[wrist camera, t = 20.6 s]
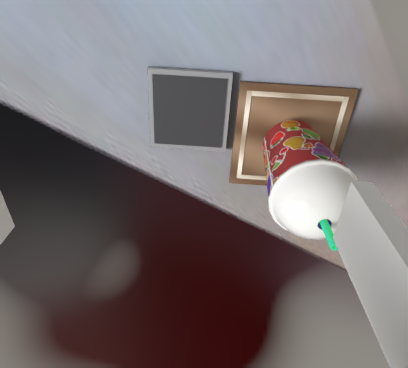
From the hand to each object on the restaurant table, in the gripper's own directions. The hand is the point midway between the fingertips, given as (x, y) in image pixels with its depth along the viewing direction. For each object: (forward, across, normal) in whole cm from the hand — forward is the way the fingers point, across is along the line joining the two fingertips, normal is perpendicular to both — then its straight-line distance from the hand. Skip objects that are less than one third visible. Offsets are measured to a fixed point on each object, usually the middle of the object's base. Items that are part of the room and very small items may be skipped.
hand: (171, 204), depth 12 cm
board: (+29, +12, -10) cm, 33 cm away
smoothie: (+28, +11, -10) cm, 32 cm away
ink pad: (+29, -1, -7) cm, 30 cm away
